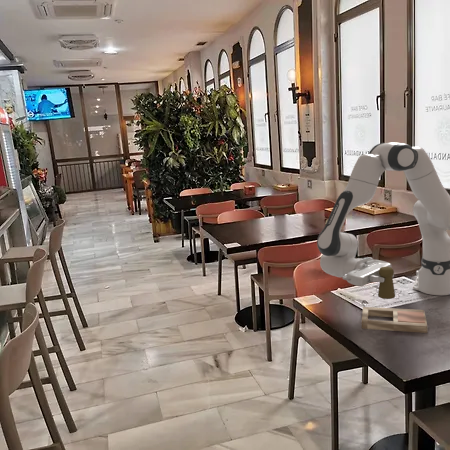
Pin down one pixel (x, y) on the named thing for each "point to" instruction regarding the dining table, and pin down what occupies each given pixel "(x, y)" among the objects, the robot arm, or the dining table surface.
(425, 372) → the dining table surface
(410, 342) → the dining table surface
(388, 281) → the cork
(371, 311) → the wooden frame
